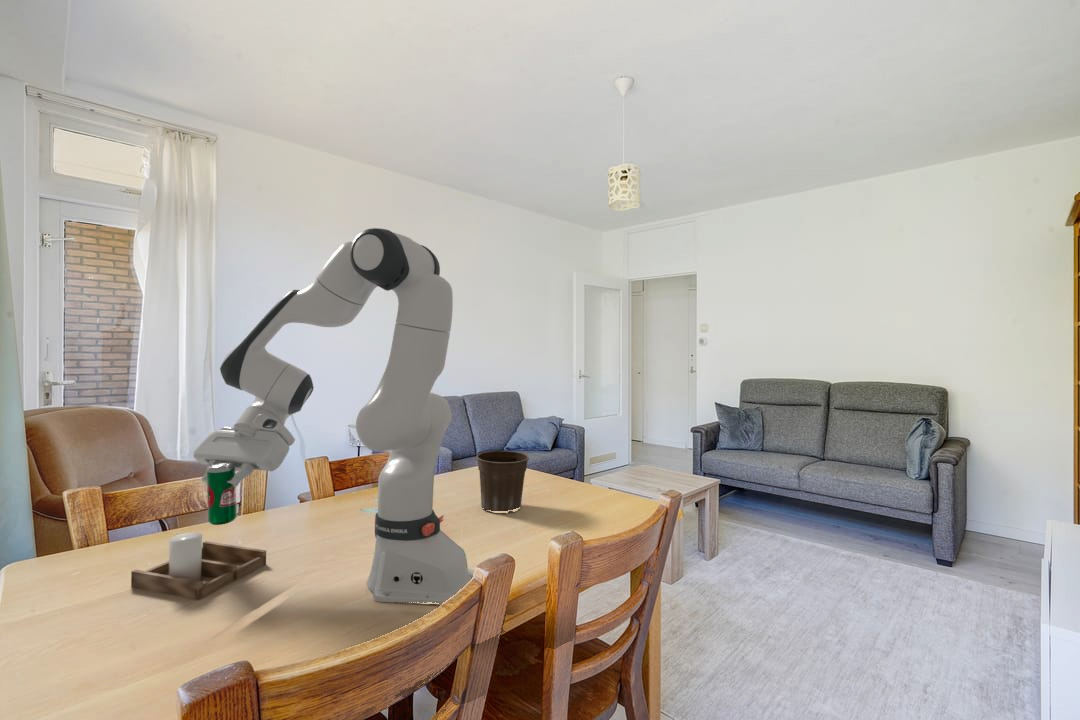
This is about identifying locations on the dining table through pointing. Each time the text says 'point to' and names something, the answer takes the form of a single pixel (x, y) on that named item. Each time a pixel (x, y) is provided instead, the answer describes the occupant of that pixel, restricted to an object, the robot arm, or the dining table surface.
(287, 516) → the dining table surface
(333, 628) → the dining table surface
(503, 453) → the plant pot
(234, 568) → the divided compartment tray
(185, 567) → the white rounded cylinder
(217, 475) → the soda can
